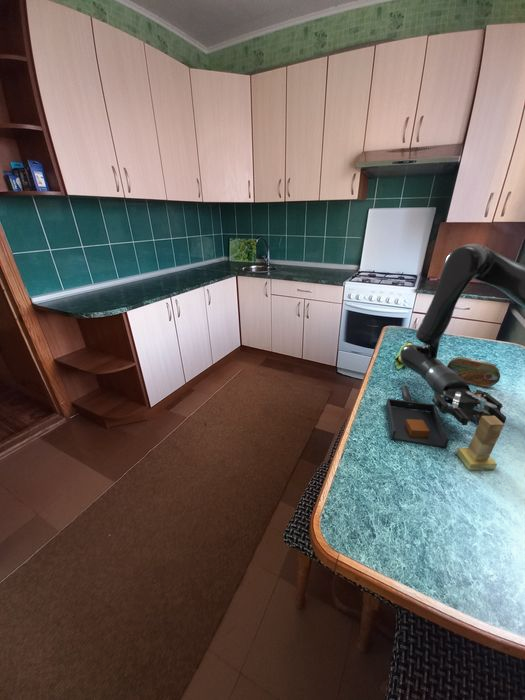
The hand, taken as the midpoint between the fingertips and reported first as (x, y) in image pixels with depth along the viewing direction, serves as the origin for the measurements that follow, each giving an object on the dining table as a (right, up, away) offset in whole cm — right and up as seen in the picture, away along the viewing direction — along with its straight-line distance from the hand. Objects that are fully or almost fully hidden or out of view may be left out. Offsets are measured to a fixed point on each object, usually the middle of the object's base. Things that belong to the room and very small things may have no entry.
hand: (485, 422), depth 67 cm
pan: (-8, -2, +20) cm, 21 cm away
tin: (+21, +5, +35) cm, 41 cm away
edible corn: (+5, +13, +49) cm, 51 cm away
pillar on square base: (0, -11, +4) cm, 11 cm away
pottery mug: (+12, -3, +18) cm, 22 cm away
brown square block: (-10, -6, +12) cm, 17 cm away
